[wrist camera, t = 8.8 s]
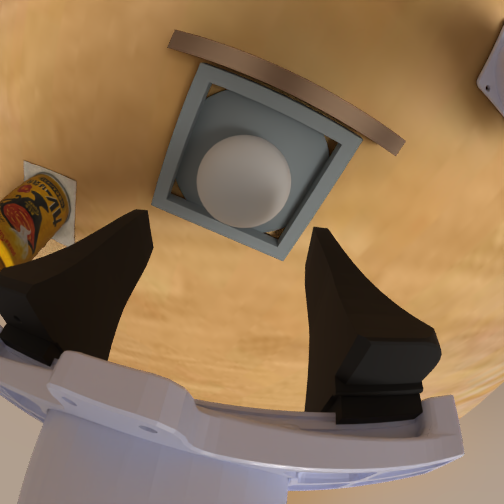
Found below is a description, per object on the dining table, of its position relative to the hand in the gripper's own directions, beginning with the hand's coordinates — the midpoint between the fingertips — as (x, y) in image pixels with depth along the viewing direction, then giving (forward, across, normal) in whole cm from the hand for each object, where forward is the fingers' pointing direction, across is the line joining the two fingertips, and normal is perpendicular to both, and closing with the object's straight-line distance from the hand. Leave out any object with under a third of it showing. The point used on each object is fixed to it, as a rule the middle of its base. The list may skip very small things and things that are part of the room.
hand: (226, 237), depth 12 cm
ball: (+9, 0, 0) cm, 9 cm away
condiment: (+9, +20, +5) cm, 23 cm away
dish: (+9, 0, 0) cm, 9 cm away
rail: (+9, -2, -6) cm, 11 cm away
